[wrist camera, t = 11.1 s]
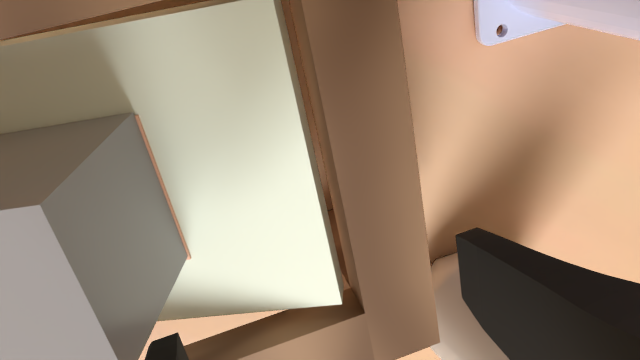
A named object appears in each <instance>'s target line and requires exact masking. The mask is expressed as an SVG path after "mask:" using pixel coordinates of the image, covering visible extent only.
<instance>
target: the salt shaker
mask: <svg viewBox="0 0 640 360" xmlns="http://www.w3.org/2000/svg"><path fill="white" fill-rule="evenodd" d="M431 273H432V281H433V289H434V297H435V305H436V313H437V321H438V329H439V337H440V343H438V344H435V345H433V346H430V348H431V349H432V350H433V351H434V352H435V353H436V355H437V356H438V357H439V358H440V359H441V360H509V358H508V357H507V356H506V355H505V354H504V353H503V352H502V351H501V349H500V348H499V347H498V346H497V345H496V344H495V343H494V341H493V340H492V339H491V338H490V337H489V336H488V334H487V333H486V332H485V331H484V330H483V328H482V327H481V326H480V324H479V323H478V321H477V320H476V318H475V317H474V315H473V314H472V312H471V311H470V309H469V308H468V306H467V305H466V303H465V302H464V300H463V299H462V294H461V284H460V274H459V264H458V254H457V253H454V254H451V255H448V256H445V257H442V258H439V259H436V260H435V261H434V263H433V264H432V266H431Z"/></svg>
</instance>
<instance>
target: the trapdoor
mask: <svg viewBox="0 0 640 360" xmlns="http://www.w3.org/2000/svg"><path fill="white" fill-rule="evenodd" d="M129 112H133V113H134V115H135V118H136V121H137V123H138V126H139V129H140V131H141V134H142V136H143V139H144V142H145V144H146V147H147V150H148V152H149V155H150V158H151V160H152V163H153V165H154V168H155V171H156V173H157V176H158V179H159V181H160V184H161V187H162V189H163V192H164V194H165V197H166V200H167V202H168V205H169V208H170V210H171V213H172V216H173V218H174V221H175V223H176V226H177V229H178V231H179V234H180V237H181V239H182V242H183V245H184V247H185V250H186V252H187V255H188V257H187V259H186V261H185V263H184V265H183V267H182V269H181V272H180V274H179V276H178V278H177V280H176V282H175V284H174V286H173V288H172V290H171V292H170V294H169V296H168V299H167V301H166V303H165V305H164V307H163V309H162V311H161V313H160V315H159V317H158V319H157V321H165V320H176V319H187V318H198V317H209V316H220V315H231V314H242V313H253V312H264V311H274V310H285V309H296V308H307V307H318V306H329V305H340V304H342V301H343V288H344V284H343V279H342V275H341V270H340V266H339V261H338V257H337V252H336V247H335V243H334V238H333V234H332V229H331V225H330V220H329V216H328V211H327V207H326V202H325V198H324V193H323V189H322V184H321V179H320V175H319V170H318V166H317V161H316V157H315V152H314V148H313V143H312V139H311V134H310V130H309V125H308V121H307V116H306V112H305V107H304V102H303V98H302V93H301V89H300V84H299V80H298V75H297V71H296V66H295V62H294V57H293V53H292V48H291V44H290V39H289V35H288V30H287V25H286V21H285V16H284V12H283V7H282V3H281V0H210V1H205V2H200V3H195V4H189V5H184V6H179V7H174V8H169V9H163V10H158V11H153V12H148V13H143V14H137V15H132V16H127V17H122V18H117V19H112V20H106V21H101V22H96V23H91V24H86V25H80V26H75V27H70V28H65V29H60V30H54V31H49V32H44V33H39V34H34V35H29V36H23V37H18V38H13V39H8V40H3V41H0V134H5V133H10V132H16V131H22V130H28V129H34V128H40V127H46V126H52V125H58V124H64V123H70V122H76V121H82V120H88V119H94V118H100V117H106V116H112V115H118V114H123V113H129Z"/></svg>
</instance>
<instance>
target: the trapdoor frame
mask: <svg viewBox="0 0 640 360" xmlns="http://www.w3.org/2000/svg"><path fill="white" fill-rule="evenodd" d="M158 1H162V0H0V40H3V39H7V38H11V37H15V36H19V35H23V34H27V33H31V32H35V31H39V30H43V29H47V28H52V27H56V26H60V25H64V24H68V23H72V22H76V21H80V20H84V19H88V18H92V17H96V16H101V15H105V14H109V13H113V12H117V11H121V10H125V9H129V8H133V7H137V6H141V5H145V4H149V3H154V2H158ZM289 4H290V8H291V13H292V18H293V22H294V27H295V32H296V36H297V41H298V46H299V50H300V55H301V60H302V64H303V69H304V74H305V78H306V83H307V88H308V92H309V97H310V102H311V106H312V111H313V116H314V120H315V125H316V130H317V134H318V139H319V144H320V148H321V153H322V158H323V162H324V167H325V172H326V176H327V181H328V185H329V190H330V195H331V199H332V204H333V210H330V211H328V216H329V220H330V225H331V229H332V234H333V238H334V243H335V247H336V252H337V257H338V261H339V266H340V270H341V275H342V279H343V284H344V288H343V301H342V304H340V305H329V306H318V307H307V308H296V309H288V310H285V311H282V312H280V313H277V314H274V315H271V316H268V317H265V318H263V319H260V320H257V321H254V322H251V323H248V324H246V325H243V326H240V327H237V328H234V329H231V330H228V331H226V332H223V333H220V334H217V335H214V336H211V337H209V338H206V339H203V340H200V341H197V342H194V343H192V344H189V345H186V346H184V349H185V351H186V354H187V356H188V358H189V360H396V359H398V358H401V357H404V356H406V355H409V354H412V353H414V352H417V351H419V350H422V349H425V348H427V347H430V346H433V345H435V344H438V343H440V337H439V329H438V321H437V313H436V305H435V297H434V289H433V281H432V273H431V266H430V258H429V250H428V242H427V234H426V226H425V218H424V210H423V202H422V194H421V187H420V179H419V171H418V163H417V155H416V147H415V139H414V131H413V123H412V115H411V108H410V100H409V92H408V84H407V76H406V68H405V60H404V52H403V44H402V36H401V29H400V21H399V13H398V5H397V0H289Z"/></svg>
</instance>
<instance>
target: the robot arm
mask: <svg viewBox="0 0 640 360" xmlns="http://www.w3.org/2000/svg"><path fill="white" fill-rule="evenodd" d="M474 14H475V29H476V38H477V40H478V42H479V43H481V44H483V45H486V46H491V45H495V44H498V43H502V42H505V41H509V40H512V39H516V38H519V37H523V36H526V35H530V34H533V33H537V32H540V31H544V30H547V29H551V28H554V27H558V26H561V25H565V24H570V25H574V26H579V27H583V28H587V29H592V30H596V31H600V32H605V33H609V34H613V35H618V36H622V37H626V38H631V39H635V40H639V41H640V0H474ZM500 25H502V31H501V33H500V34H499V35H497V33H496V31H497V28H498V27H499V26H500ZM456 244H457V254H458V264H459V274H460V284H461V294H462V299H463V300H464V302H465V303H466V305H467V306H468V308H469V309H470V311H471V312H472V314H473V315H474V317H475V318H476V320H477V321H478V323H479V324H480V326H481V327H482V328H483V330H484V331H485V332H486V333H487V334H488V336H489V337H490V338H491V339H492V340H493V341H494V343H495V344H496V345H497V346H498V347H499V348H500V349H501V351H502V352H503V353H504V354H505V355H506V356H507V357H508V358H509V360H640V284H639V283H635V282H631V281H627V280H623V279H620V278H616V277H612V276H608V275H605V274H601V273H598V272H594V271H591V270H588V269H585V268H582V267H579V266H576V265H573V264H570V263H567V262H564V261H562V260H559V259H556V258H553V257H551V256H548V255H545V254H543V253H540V252H538V251H535V250H532V249H530V248H527V247H525V246H522V245H520V244H518V243H515V242H513V241H510V240H508V239H505V238H503V237H500V236H498V235H495V234H493V233H490V232H488V231H485V230H482V229H480V228H475V229H472V230H469V231H466V232H463V233H460V234H457V235H456ZM145 360H189V358H188V356H187V354H186V351H185V349H184V346H183V344H182V342H181V339H180V337H179V334H178V333H175V334H172V335H169V336H167V337H164V338H161V339H158V340H155V341H152V342H151V344H150V346H149V348H148V351H147V354H146V358H145Z"/></svg>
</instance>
